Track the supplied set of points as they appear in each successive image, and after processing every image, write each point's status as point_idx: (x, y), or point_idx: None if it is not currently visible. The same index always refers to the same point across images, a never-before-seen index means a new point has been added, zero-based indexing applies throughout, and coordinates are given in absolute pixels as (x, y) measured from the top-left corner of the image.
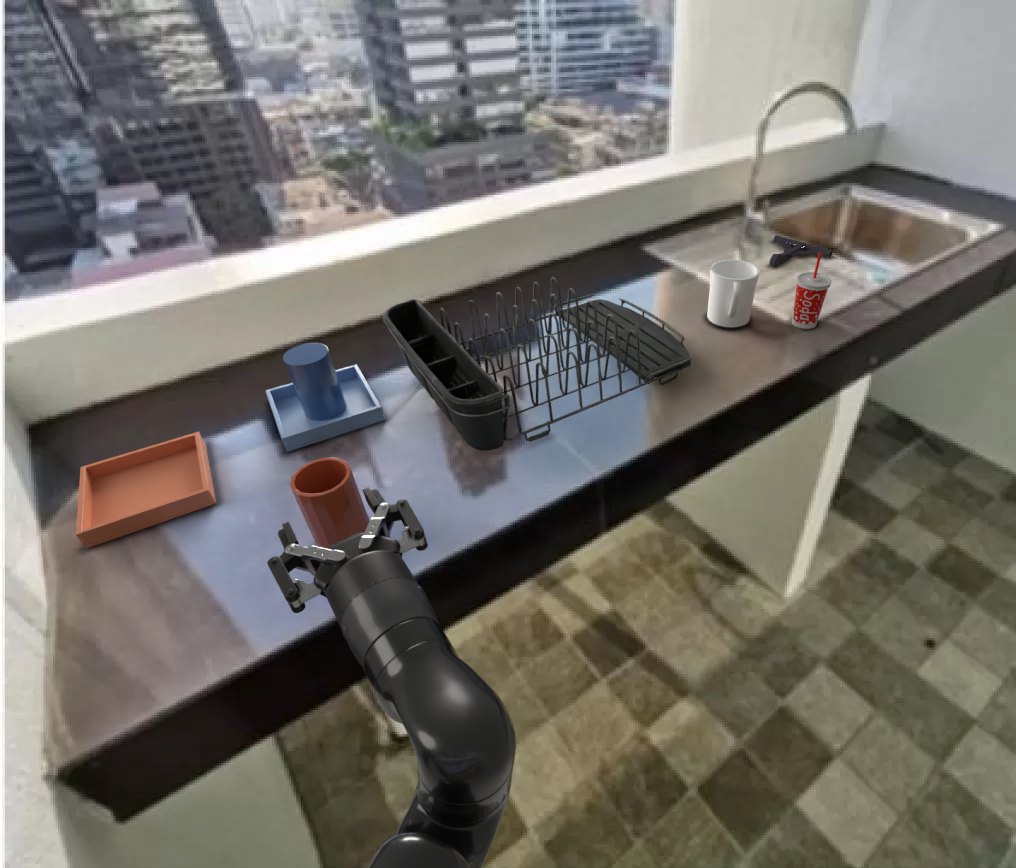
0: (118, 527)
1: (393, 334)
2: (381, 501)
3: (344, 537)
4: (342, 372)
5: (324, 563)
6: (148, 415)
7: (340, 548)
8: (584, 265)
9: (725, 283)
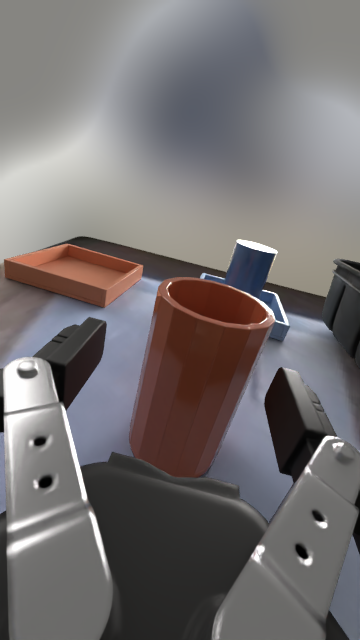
0: (31, 275)
1: (346, 269)
2: (325, 428)
3: (174, 433)
4: (262, 293)
5: (4, 538)
6: (130, 255)
7: (128, 509)
8: None
9: None
